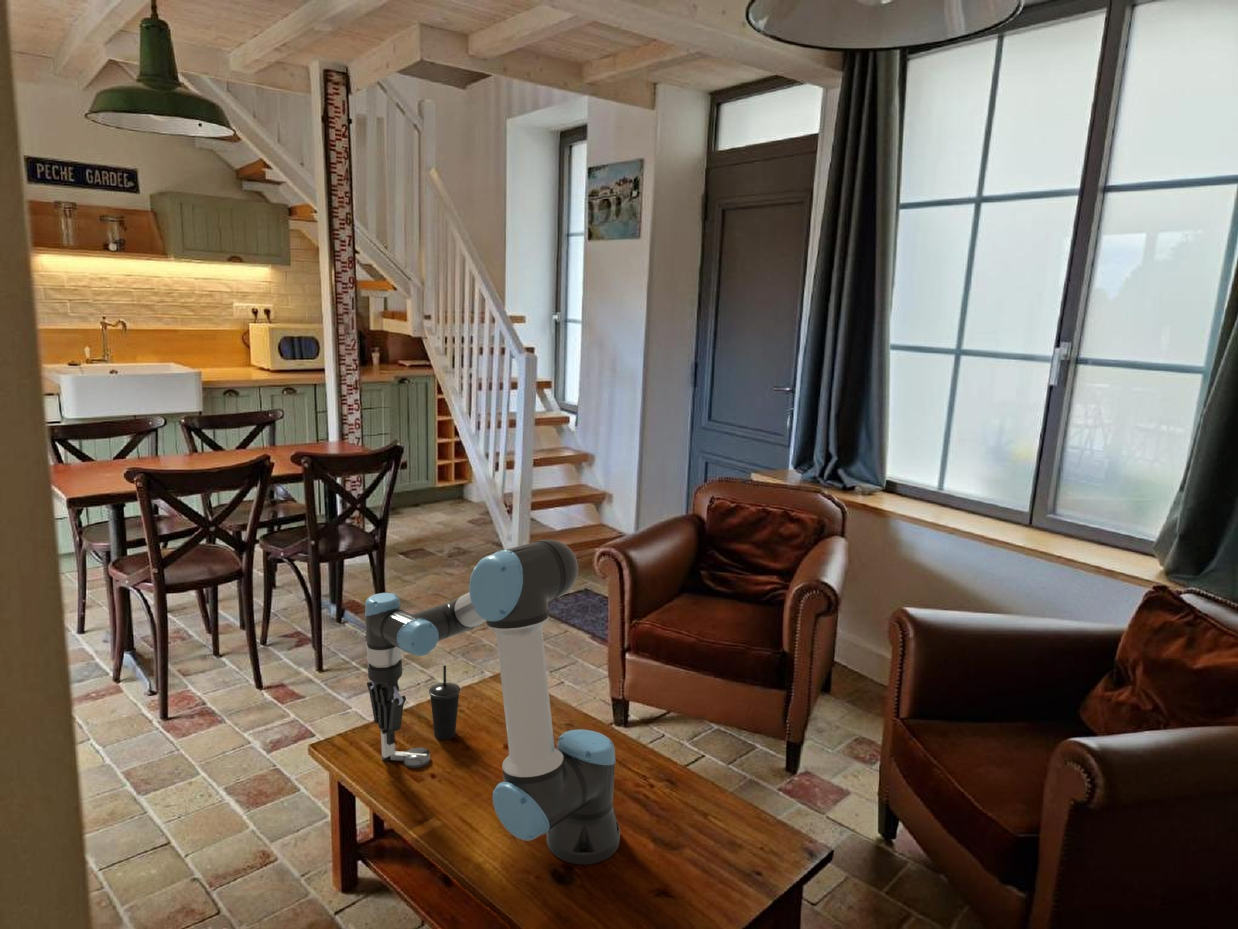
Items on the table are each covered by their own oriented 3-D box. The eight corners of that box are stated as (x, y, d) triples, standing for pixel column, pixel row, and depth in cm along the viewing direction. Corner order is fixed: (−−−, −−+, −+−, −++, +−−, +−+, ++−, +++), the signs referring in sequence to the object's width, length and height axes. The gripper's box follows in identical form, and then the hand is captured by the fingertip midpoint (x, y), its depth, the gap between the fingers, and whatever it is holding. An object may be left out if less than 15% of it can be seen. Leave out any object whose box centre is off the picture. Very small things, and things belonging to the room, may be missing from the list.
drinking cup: (426, 735, 201) (425, 661, 197) (456, 729, 204) (456, 657, 200) (432, 750, 194) (432, 675, 190) (463, 744, 197) (463, 670, 193)
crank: (432, 754, 190) (432, 733, 189) (425, 769, 184) (425, 747, 183) (386, 751, 190) (386, 730, 189) (377, 765, 184) (377, 744, 183)
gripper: (415, 664, 178) (418, 759, 183) (384, 647, 187) (387, 738, 192) (385, 675, 173) (389, 772, 178) (355, 657, 182) (359, 750, 186)
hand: (388, 754), depth 185 cm, fingers closed
